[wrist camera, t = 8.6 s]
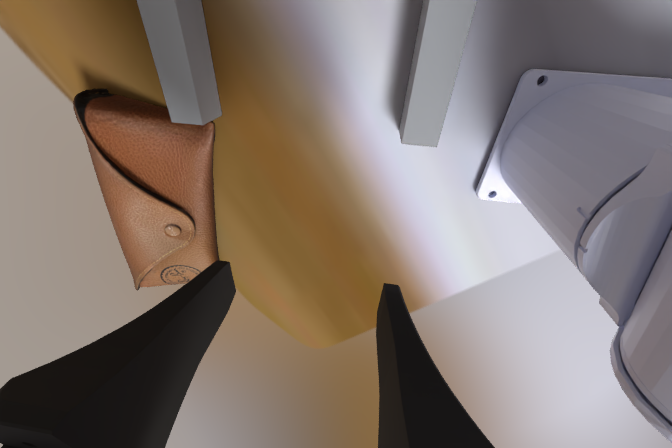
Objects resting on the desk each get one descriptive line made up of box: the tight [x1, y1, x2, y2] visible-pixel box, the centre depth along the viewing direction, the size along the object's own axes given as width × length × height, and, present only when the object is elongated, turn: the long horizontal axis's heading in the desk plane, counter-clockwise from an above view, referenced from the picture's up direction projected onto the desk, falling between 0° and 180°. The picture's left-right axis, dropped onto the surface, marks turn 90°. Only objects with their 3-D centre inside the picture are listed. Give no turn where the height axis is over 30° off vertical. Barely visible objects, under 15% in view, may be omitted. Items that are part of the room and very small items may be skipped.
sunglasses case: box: [73, 89, 219, 290], centre depth 23 cm, size 18×7×7 cm, turn 169°
